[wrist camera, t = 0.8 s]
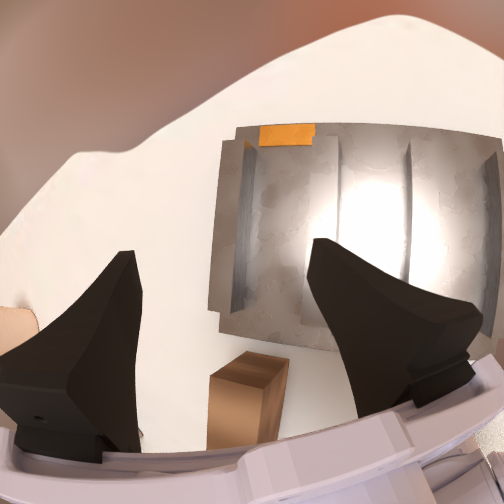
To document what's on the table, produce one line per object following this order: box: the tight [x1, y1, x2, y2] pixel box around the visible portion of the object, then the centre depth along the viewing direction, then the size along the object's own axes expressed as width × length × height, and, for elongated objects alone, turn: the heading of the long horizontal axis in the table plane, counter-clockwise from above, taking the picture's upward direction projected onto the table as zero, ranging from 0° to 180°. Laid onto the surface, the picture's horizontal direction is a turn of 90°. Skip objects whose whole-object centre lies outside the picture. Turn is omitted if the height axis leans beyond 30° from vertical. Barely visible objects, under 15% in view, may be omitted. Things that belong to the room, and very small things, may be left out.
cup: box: [0, 306, 39, 356], centre depth 36 cm, size 10×10×11 cm
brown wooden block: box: [206, 351, 289, 451], centre depth 22 cm, size 12×4×7 cm, turn 174°
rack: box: [208, 123, 504, 360], centre depth 21 cm, size 19×25×3 cm
